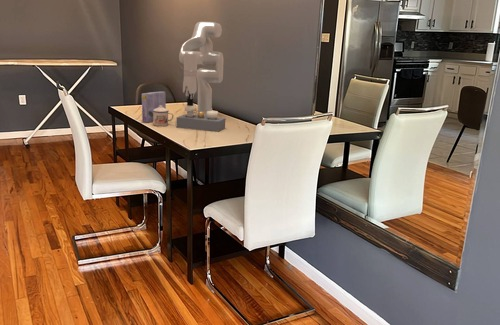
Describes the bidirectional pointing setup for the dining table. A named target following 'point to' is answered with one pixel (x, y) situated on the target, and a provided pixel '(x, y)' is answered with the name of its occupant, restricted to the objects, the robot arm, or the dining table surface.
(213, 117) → the ivory knob
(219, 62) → the robot arm
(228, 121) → the dining table surface
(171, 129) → the dining table surface
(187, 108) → the ivory knob
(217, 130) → the mount
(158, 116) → the teacup with lid
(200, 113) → the brass ball
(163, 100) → the cake pan box
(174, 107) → the dining table surface
